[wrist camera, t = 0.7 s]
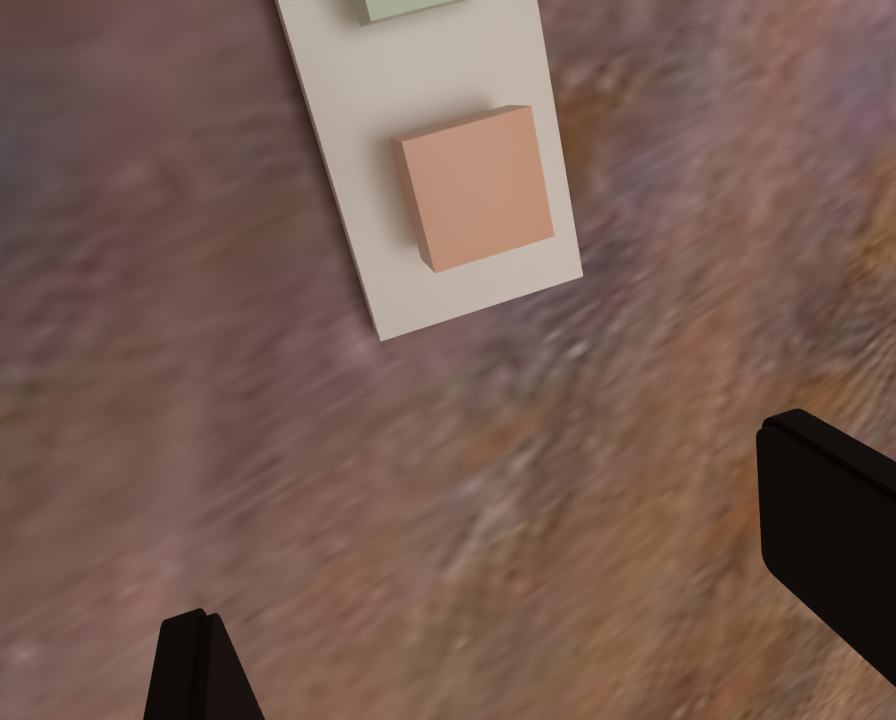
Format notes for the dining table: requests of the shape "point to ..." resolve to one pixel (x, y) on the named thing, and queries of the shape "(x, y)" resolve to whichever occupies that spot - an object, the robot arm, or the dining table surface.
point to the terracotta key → (474, 186)
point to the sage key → (393, 9)
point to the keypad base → (416, 107)
